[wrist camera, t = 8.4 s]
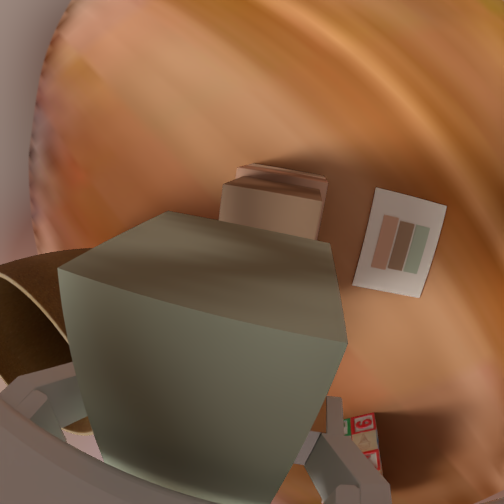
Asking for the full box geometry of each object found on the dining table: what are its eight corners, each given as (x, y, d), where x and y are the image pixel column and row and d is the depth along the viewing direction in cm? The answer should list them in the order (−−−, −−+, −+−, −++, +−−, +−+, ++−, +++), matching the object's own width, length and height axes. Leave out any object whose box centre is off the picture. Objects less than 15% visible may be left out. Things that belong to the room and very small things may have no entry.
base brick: (324, 175, 25) (328, 183, 19) (299, 294, 29) (296, 329, 23) (253, 163, 26) (237, 167, 20) (236, 281, 29) (219, 313, 24)
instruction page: (446, 205, 23) (447, 206, 23) (418, 297, 26) (419, 298, 26) (375, 187, 24) (376, 187, 24) (351, 284, 27) (352, 285, 27)
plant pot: (91, 331, 36) (13, 406, 21) (64, 218, 31) (-47, 266, 16) (195, 346, 33) (130, 459, 18) (176, 211, 28) (54, 277, 13)
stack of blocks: (384, 483, 37) (388, 542, 26) (348, 490, 39) (347, 549, 27) (374, 410, 32) (383, 494, 20) (324, 421, 34) (321, 504, 22)
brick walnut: (319, 189, 19) (322, 201, 15) (291, 322, 23) (285, 364, 18) (243, 175, 20) (223, 184, 15) (226, 308, 24) (206, 346, 19)
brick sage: (330, 243, 9) (348, 343, 4) (267, 448, 12) (247, 538, 8) (168, 210, 9) (57, 267, 5) (164, 420, 13) (121, 499, 8)
